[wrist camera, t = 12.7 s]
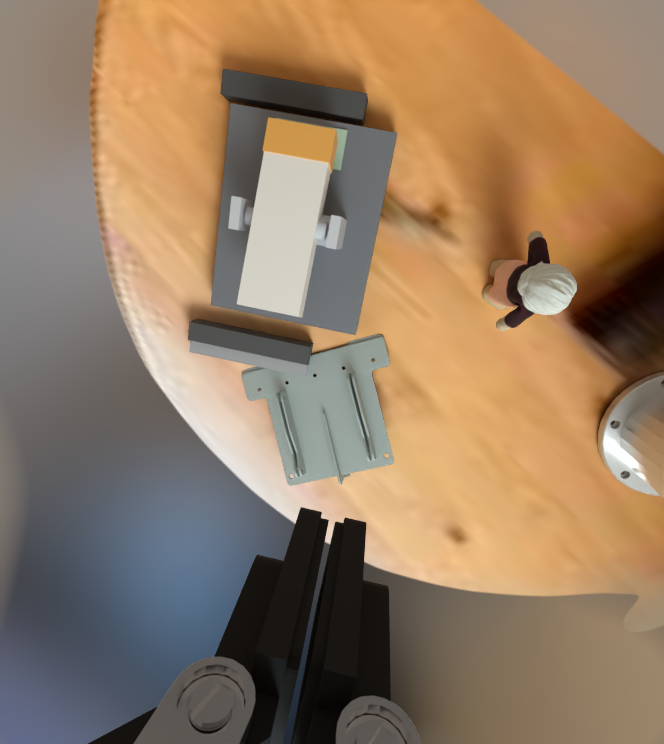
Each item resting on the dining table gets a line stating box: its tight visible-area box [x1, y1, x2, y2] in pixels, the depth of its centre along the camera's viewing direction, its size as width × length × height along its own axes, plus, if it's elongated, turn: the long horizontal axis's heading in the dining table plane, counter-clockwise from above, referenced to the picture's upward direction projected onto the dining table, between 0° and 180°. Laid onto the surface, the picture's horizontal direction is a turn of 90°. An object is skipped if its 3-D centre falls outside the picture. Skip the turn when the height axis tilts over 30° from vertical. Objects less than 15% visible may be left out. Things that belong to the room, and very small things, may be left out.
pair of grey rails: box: [188, 69, 368, 377], centre depth 39 cm, size 13×25×2 cm, turn 169°
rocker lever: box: [237, 117, 338, 318], centre depth 34 cm, size 6×14×2 cm, turn 169°
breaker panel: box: [211, 103, 397, 335], centre depth 36 cm, size 14×17×7 cm
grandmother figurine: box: [482, 231, 577, 331], centre depth 32 cm, size 8×4×13 cm, turn 179°
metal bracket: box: [242, 334, 394, 485], centre depth 43 cm, size 14×6×15 cm
